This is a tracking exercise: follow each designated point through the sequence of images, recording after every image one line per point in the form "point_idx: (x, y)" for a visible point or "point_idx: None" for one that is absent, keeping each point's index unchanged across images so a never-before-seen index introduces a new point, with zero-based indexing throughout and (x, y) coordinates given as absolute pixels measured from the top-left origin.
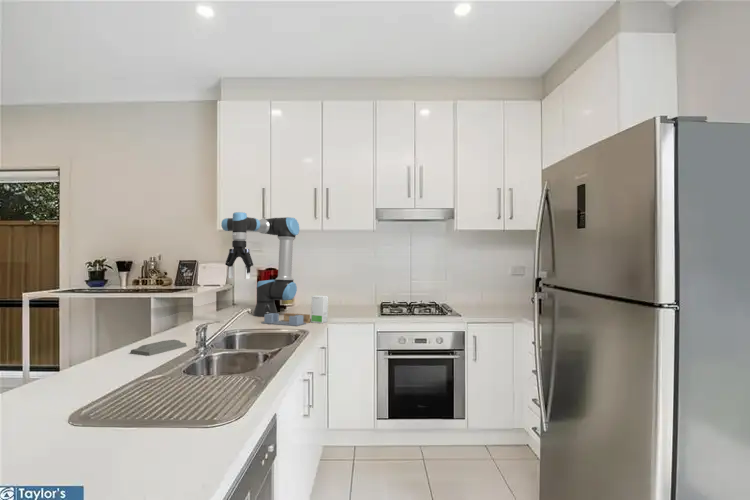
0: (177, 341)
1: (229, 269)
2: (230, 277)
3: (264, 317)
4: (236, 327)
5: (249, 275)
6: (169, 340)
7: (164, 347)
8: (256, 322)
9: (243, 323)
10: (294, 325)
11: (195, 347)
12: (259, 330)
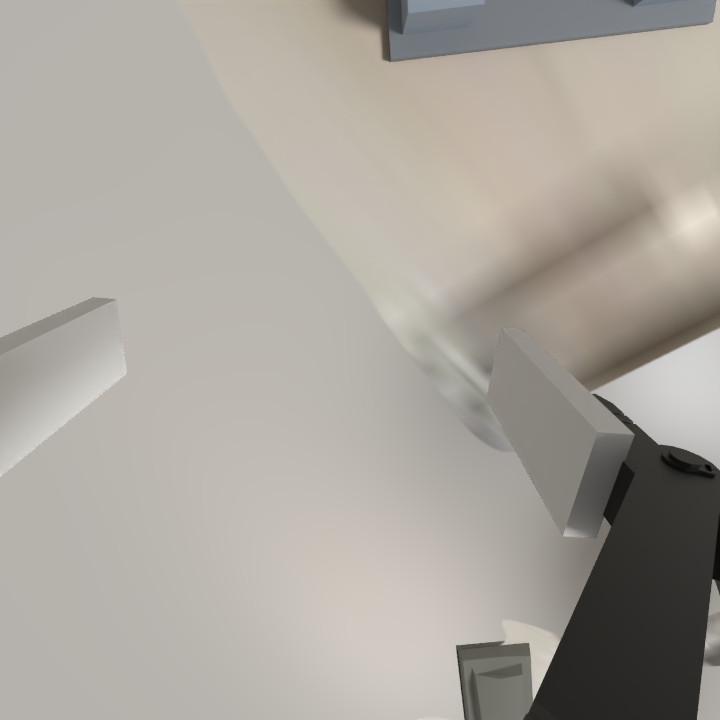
0: (522, 680)
1: (27, 450)
2: (117, 354)
3: (406, 21)
4: (377, 292)
5: (543, 353)
6: (498, 689)
7: (525, 705)
8: (322, 36)
9: (285, 138)
10: (690, 25)
11: None
12: (561, 302)
